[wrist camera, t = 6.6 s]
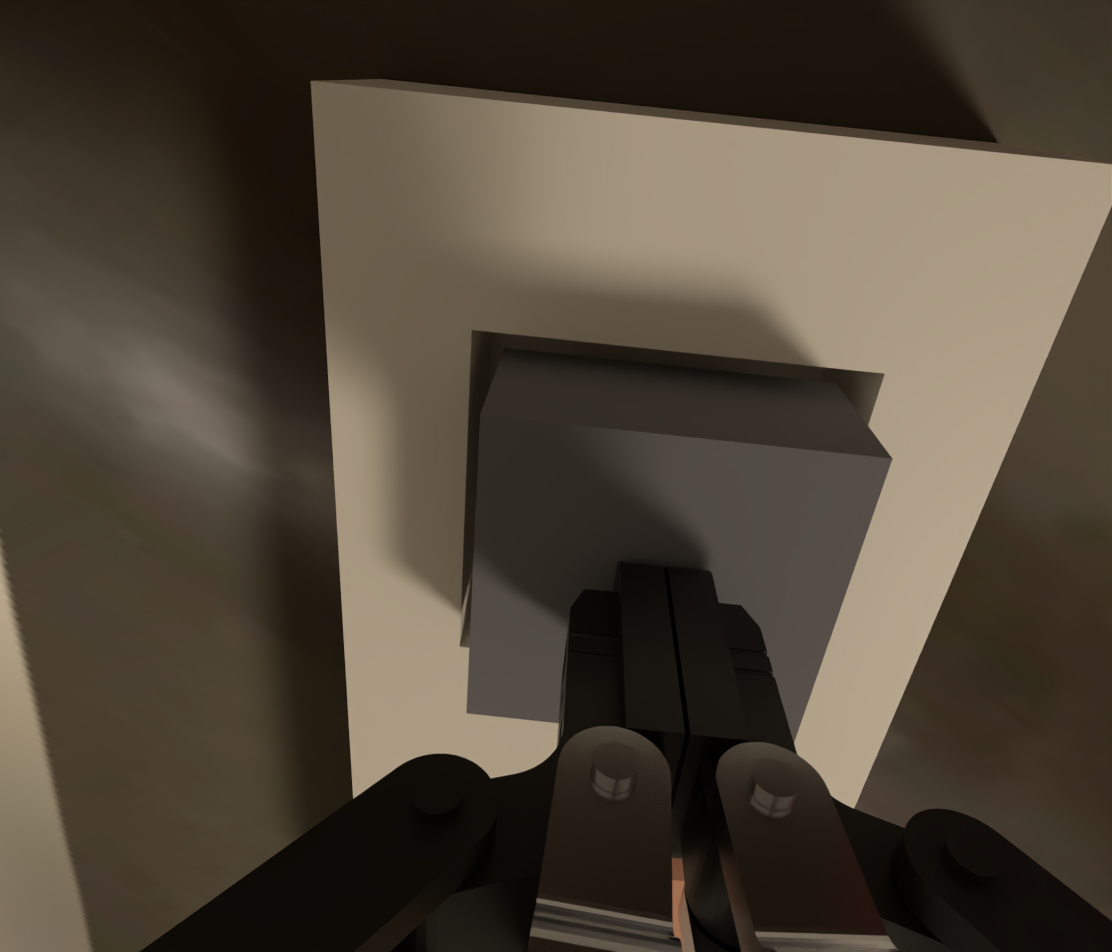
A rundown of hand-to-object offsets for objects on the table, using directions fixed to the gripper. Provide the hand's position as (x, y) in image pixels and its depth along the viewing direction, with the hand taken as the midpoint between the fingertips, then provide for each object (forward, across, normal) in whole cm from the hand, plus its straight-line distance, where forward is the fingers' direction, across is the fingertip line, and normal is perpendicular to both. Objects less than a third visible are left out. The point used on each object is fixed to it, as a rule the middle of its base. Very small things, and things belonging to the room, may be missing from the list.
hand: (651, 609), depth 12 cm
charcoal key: (+3, 0, 0) cm, 3 cm away
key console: (+6, 0, +6) cm, 9 cm away
